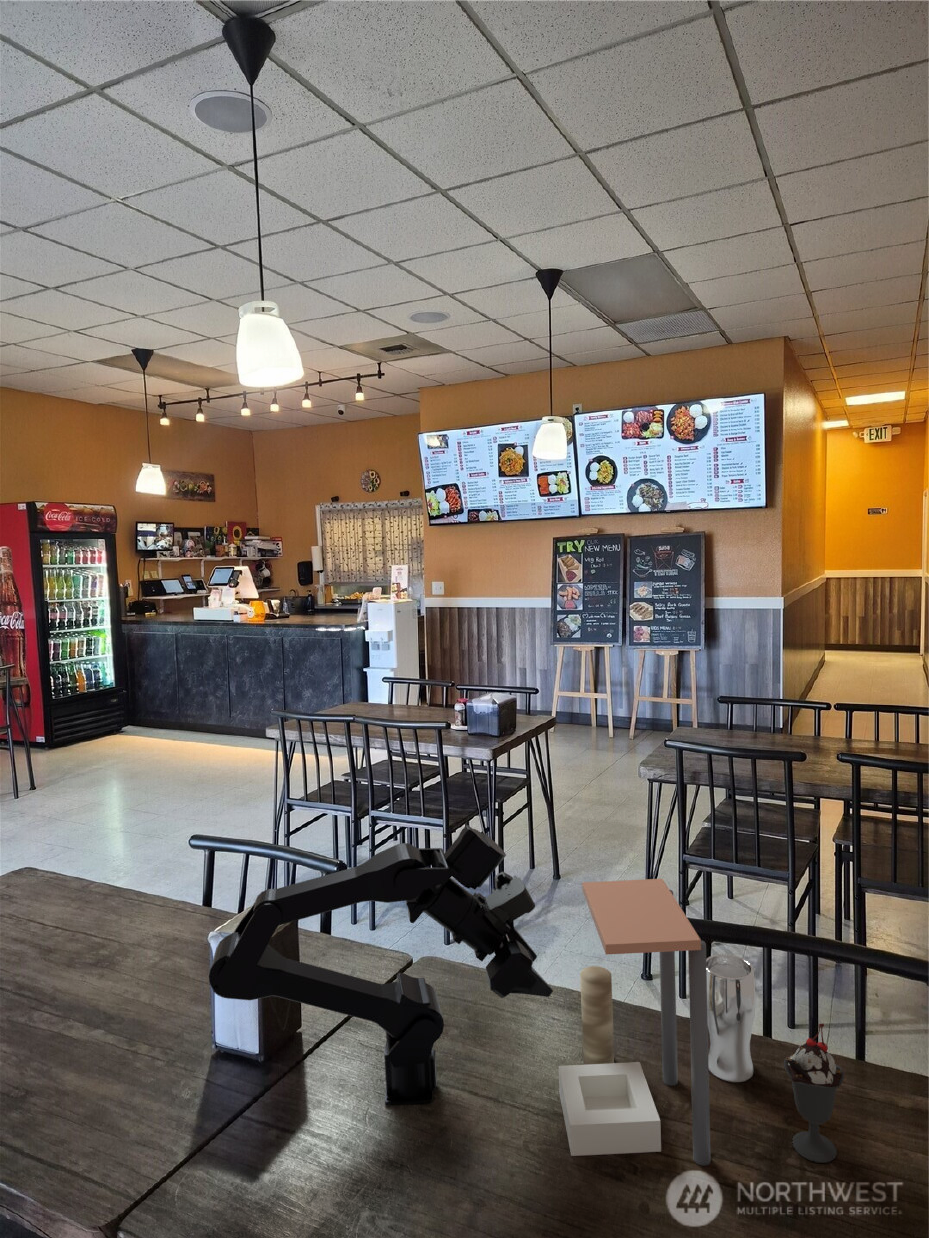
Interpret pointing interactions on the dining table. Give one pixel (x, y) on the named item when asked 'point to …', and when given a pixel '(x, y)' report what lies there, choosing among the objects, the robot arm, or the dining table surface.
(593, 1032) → the dowel
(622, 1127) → the table parts
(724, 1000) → the beer glass
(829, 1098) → the sundae
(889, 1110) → the dining table surface
